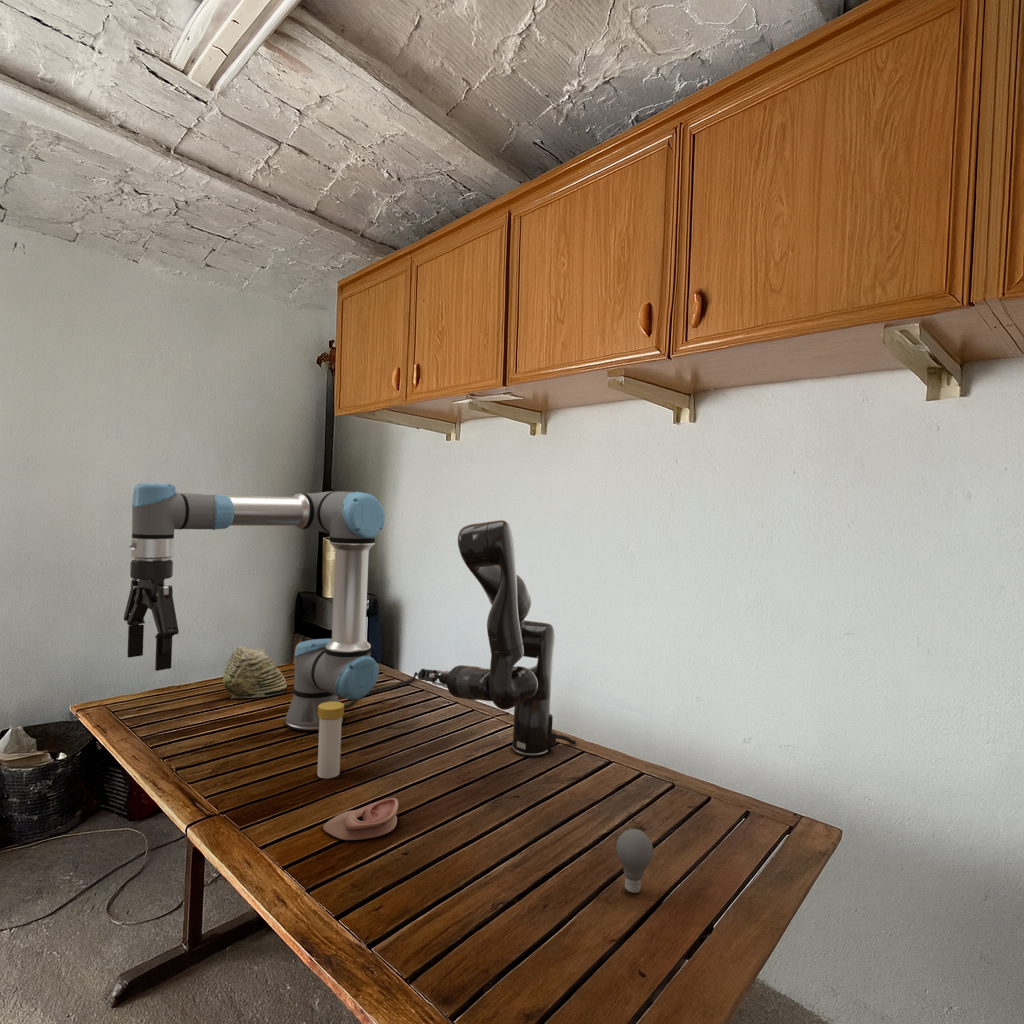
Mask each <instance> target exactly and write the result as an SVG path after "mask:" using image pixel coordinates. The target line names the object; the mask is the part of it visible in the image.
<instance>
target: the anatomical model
mask: <svg viewBox="0 0 1024 1024" xmlns="http://www.w3.org/2000/svg"><path fill="white" fill-rule="evenodd" d="M398 809H399V801H398V799H397V798H396V797H389V798H388V797H387V798H383V799H381V800H378V801H375V802H372V803H369V804H367V805H365V806H363V807H360V808H357V809H353V810H352V809H351V810H348V811H344V812H341V813H340V814H337V815H336V816H333V818H330V819H329V820H328V821H327V822H325V823H324V824H323V826H322V830H323V831H324V832H325V833H326V834H329V835H330V836H332V837H334V838H337V839H339V840H342V841H358V840H359V841H360V840H366V839H373V838H377V837H380V836H383V835H386V834H388V833H390V832H392V831H393V830H394V829H395V828H396V826H397V824H398V817H397V813H398Z"/></svg>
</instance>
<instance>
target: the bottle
mask: <svg viewBox="0 0 1024 1024" xmlns="http://www.w3.org/2000/svg"><path fill="white" fill-rule="evenodd" d="M342 723H343V722H342V717H340V718H337V719H330V720H329V719H321V718H319V731H318V748H317V772H316V775H317V777H318V778H320V779H332V778H333V779H334V778H336V777H339V775H340V773H341V748H342V727H343V726H342Z"/></svg>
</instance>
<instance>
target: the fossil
mask: <svg viewBox="0 0 1024 1024" xmlns="http://www.w3.org/2000/svg"><path fill="white" fill-rule="evenodd" d="M222 676H223V677H222V685H223V687H224V688H225V690H226V691H228V693H229V698H230V699H250V698H264V697H271V696H275V695H281V694H284V693H285V691H286V689H287V687H288V686H287V680H286V678H285V676H284V674H283V673H282V672H281V669H279V668H278V667H277V665H276V663H275V662H274V660H273V659H272V658H271V657H270V656H269V655H268V654H267V653H266V652H265V650H264V649H263V648H260V647H258V648H251V647H247V646H246V647H245V646H238V647H237V648H236V649H235V650H233V651H232V653H231V656H230V657H229V659H228V660H227V663H226V666H225V668H224V671H223V675H222Z"/></svg>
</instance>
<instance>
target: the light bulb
mask: <svg viewBox="0 0 1024 1024" xmlns="http://www.w3.org/2000/svg"><path fill="white" fill-rule="evenodd" d="M615 849H616V854H617V857H618V859H619V861H620V863H621V865H622V867H623V873H624V874H623V875H624V876H625V878H624V888H625V890H627V891H628V892H630V893H634V894H635V893H639V892H640V891H641V889H642V887H641V886H642V879H643V877H644V875H645V871H646V868H647V867H648V866H649V864H650V863H651V861H652V859H653V855H654V847H653V843H652V841H651V838H649V836H648V835H647V834H646V833H645V832H643V831H642V830H641V829H636V828H629V829H627V830H625V831H623V832H622V833H621V834H620V835H619V837H618V839H617V841H616V847H615Z"/></svg>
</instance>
